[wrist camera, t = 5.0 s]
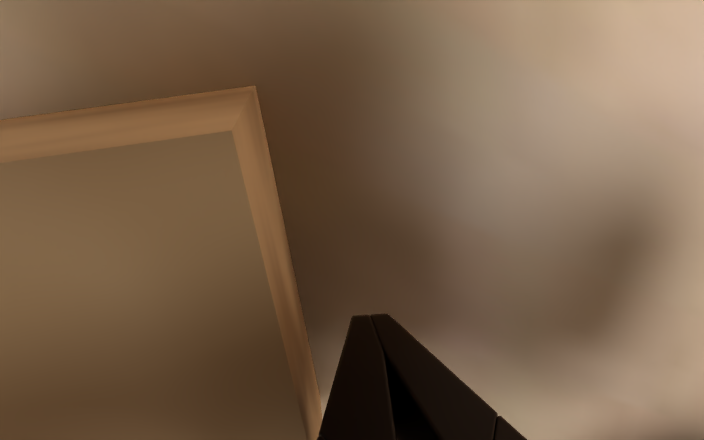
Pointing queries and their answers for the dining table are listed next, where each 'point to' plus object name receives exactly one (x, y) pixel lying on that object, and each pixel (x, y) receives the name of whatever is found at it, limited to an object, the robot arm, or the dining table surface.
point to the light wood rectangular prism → (149, 277)
